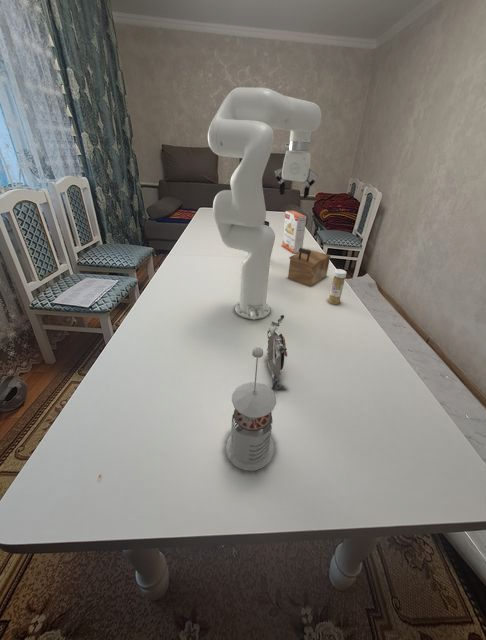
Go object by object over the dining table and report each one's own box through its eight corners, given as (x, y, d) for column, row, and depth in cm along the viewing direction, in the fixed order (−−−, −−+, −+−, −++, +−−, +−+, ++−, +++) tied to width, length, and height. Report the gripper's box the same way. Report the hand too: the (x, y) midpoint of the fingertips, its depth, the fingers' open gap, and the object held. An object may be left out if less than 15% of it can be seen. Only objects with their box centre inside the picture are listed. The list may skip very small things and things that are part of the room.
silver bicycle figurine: (288, 390, 74) (294, 348, 67) (271, 390, 73) (276, 348, 67) (279, 352, 87) (284, 314, 80) (265, 352, 86) (268, 314, 80)
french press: (215, 451, 58) (214, 351, 46) (249, 413, 66) (256, 320, 54) (256, 481, 53) (267, 379, 41) (287, 436, 62) (303, 340, 50)
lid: (313, 266, 123) (315, 254, 121) (289, 258, 129) (290, 246, 127) (330, 256, 135) (332, 245, 132) (307, 250, 141) (308, 239, 138)
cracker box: (281, 245, 176) (285, 210, 166) (290, 245, 179) (294, 210, 169) (293, 253, 165) (297, 216, 155) (302, 252, 168) (307, 215, 158)
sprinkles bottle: (326, 301, 117) (332, 270, 111) (331, 298, 120) (338, 267, 114) (336, 305, 114) (343, 274, 108) (341, 302, 118) (348, 271, 111)
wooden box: (310, 286, 129) (314, 265, 124) (287, 278, 134) (290, 258, 130) (326, 276, 140) (330, 257, 135) (304, 269, 146) (307, 250, 141)
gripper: (273, 145, 108) (270, 194, 116) (319, 149, 102) (312, 200, 111) (280, 145, 114) (276, 192, 122) (324, 149, 108) (316, 197, 117)
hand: (293, 195), depth 116 cm, fingers open, 9 cm apart
